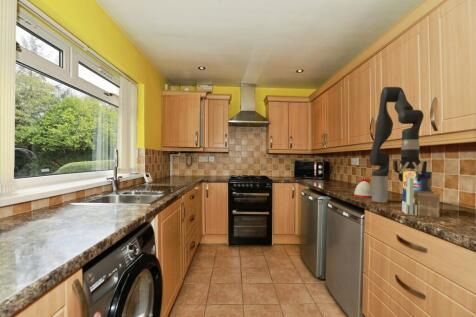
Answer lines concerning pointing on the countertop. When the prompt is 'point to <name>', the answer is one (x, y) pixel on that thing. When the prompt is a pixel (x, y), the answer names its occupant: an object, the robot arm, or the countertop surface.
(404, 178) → the beverage box
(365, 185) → the kitchen timer
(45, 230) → the countertop surface
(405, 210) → the small printed carton
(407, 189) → the sage board
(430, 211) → the oak rack
